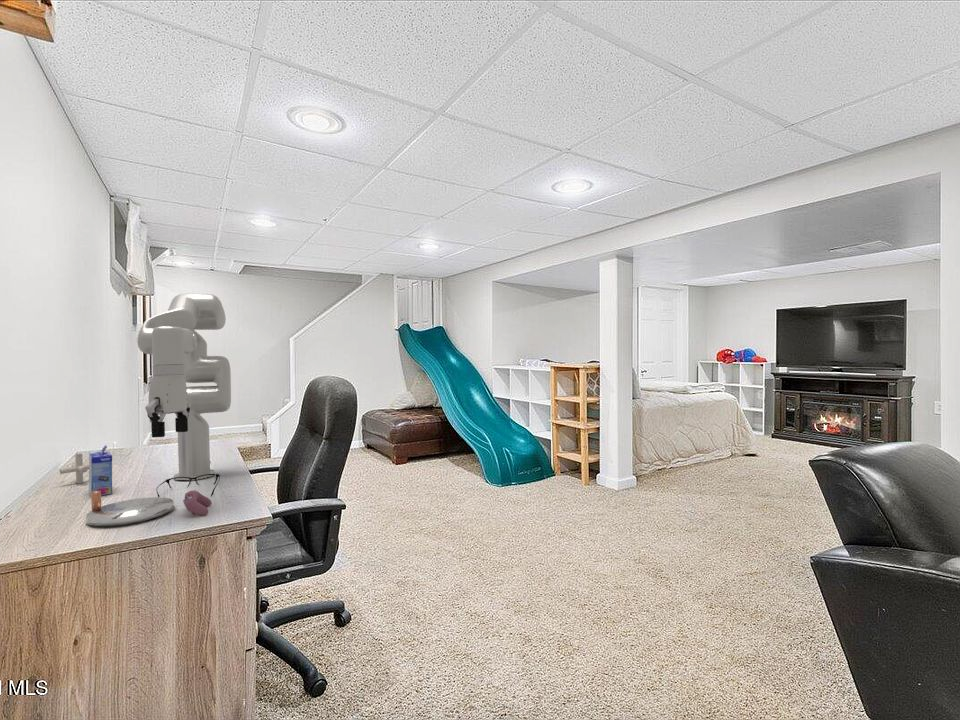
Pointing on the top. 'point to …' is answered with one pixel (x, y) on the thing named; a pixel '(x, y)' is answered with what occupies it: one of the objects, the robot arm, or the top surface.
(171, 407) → the robot arm
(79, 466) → the pipe connector
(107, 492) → the ink cartridge box
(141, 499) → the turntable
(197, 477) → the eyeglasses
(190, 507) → the video game controller
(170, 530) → the top surface
